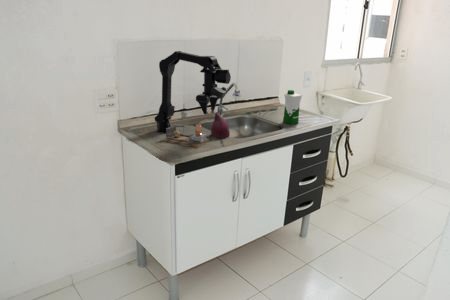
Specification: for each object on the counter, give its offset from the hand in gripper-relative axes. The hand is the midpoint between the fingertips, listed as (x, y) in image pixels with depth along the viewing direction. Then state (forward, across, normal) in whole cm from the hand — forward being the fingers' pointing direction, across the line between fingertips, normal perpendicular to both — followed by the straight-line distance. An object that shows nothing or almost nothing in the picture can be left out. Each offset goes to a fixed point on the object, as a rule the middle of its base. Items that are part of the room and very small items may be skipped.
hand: (209, 112), depth 188 cm
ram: (+13, -9, +2) cm, 16 cm away
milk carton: (+15, +57, -29) cm, 66 cm away
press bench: (+15, -9, +8) cm, 19 cm away
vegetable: (+15, +9, -3) cm, 18 cm away
